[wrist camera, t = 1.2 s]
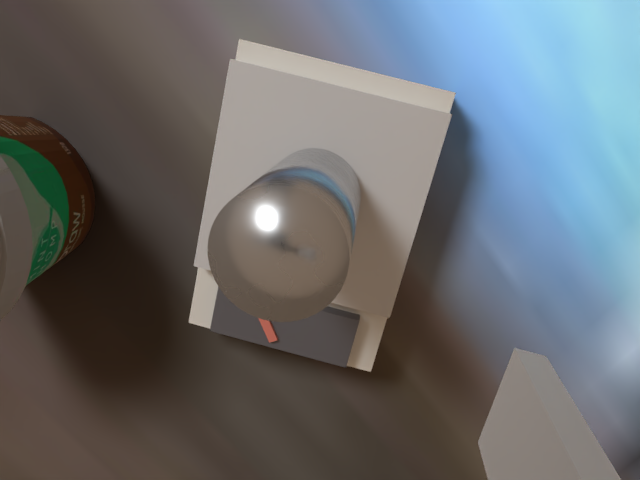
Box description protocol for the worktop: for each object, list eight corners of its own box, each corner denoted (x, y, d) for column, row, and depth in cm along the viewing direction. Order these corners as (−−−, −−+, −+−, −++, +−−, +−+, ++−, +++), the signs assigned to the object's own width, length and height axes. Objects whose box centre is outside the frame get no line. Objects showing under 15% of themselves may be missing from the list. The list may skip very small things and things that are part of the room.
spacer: (278, 137, 27) (221, 168, 17) (371, 161, 27) (365, 206, 17) (259, 227, 28) (196, 301, 19) (348, 250, 28) (330, 337, 18)
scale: (250, 42, 29) (233, 37, 26) (449, 92, 29) (458, 93, 25) (202, 305, 34) (182, 330, 30) (371, 351, 33) (370, 381, 30)
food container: (91, 310, 35) (-19, 397, 25) (3, 277, 35) (-141, 351, 25) (134, 129, 31) (24, 149, 22) (35, 92, 31) (-118, 96, 22)
